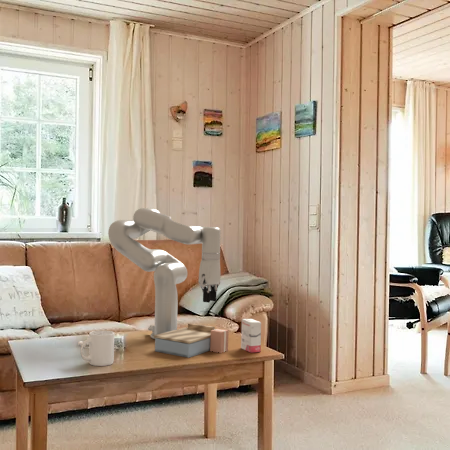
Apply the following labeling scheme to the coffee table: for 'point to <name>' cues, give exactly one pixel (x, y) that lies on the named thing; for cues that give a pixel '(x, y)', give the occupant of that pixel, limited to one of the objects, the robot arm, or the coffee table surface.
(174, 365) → the coffee table surface
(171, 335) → the lid
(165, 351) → the blue open box
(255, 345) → the ink box
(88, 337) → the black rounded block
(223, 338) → the parcel
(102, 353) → the mug
